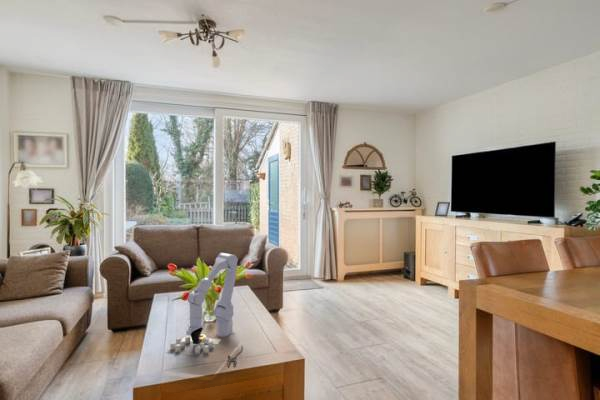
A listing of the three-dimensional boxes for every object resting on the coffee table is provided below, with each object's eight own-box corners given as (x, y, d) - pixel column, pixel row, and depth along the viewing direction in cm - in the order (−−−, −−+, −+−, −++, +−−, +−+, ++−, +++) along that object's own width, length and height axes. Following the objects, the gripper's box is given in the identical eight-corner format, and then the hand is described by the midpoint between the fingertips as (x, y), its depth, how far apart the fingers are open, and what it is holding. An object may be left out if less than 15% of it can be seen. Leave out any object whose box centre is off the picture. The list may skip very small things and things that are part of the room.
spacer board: (185, 338, 170) (185, 330, 170) (221, 341, 166) (221, 333, 166) (165, 355, 152) (165, 346, 152) (205, 359, 149) (205, 350, 149)
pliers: (241, 343, 164) (249, 363, 145) (241, 345, 164) (249, 365, 145) (222, 346, 160) (227, 367, 142) (222, 348, 160) (227, 369, 142)
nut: (193, 342, 163) (193, 338, 163) (197, 337, 168) (197, 333, 168) (203, 343, 162) (203, 339, 162) (208, 338, 167) (208, 334, 167)
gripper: (195, 310, 168) (195, 336, 168) (180, 321, 153) (180, 349, 154) (208, 311, 166) (208, 337, 167) (194, 322, 152) (194, 351, 152)
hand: (195, 343), depth 160 cm, fingers closed
